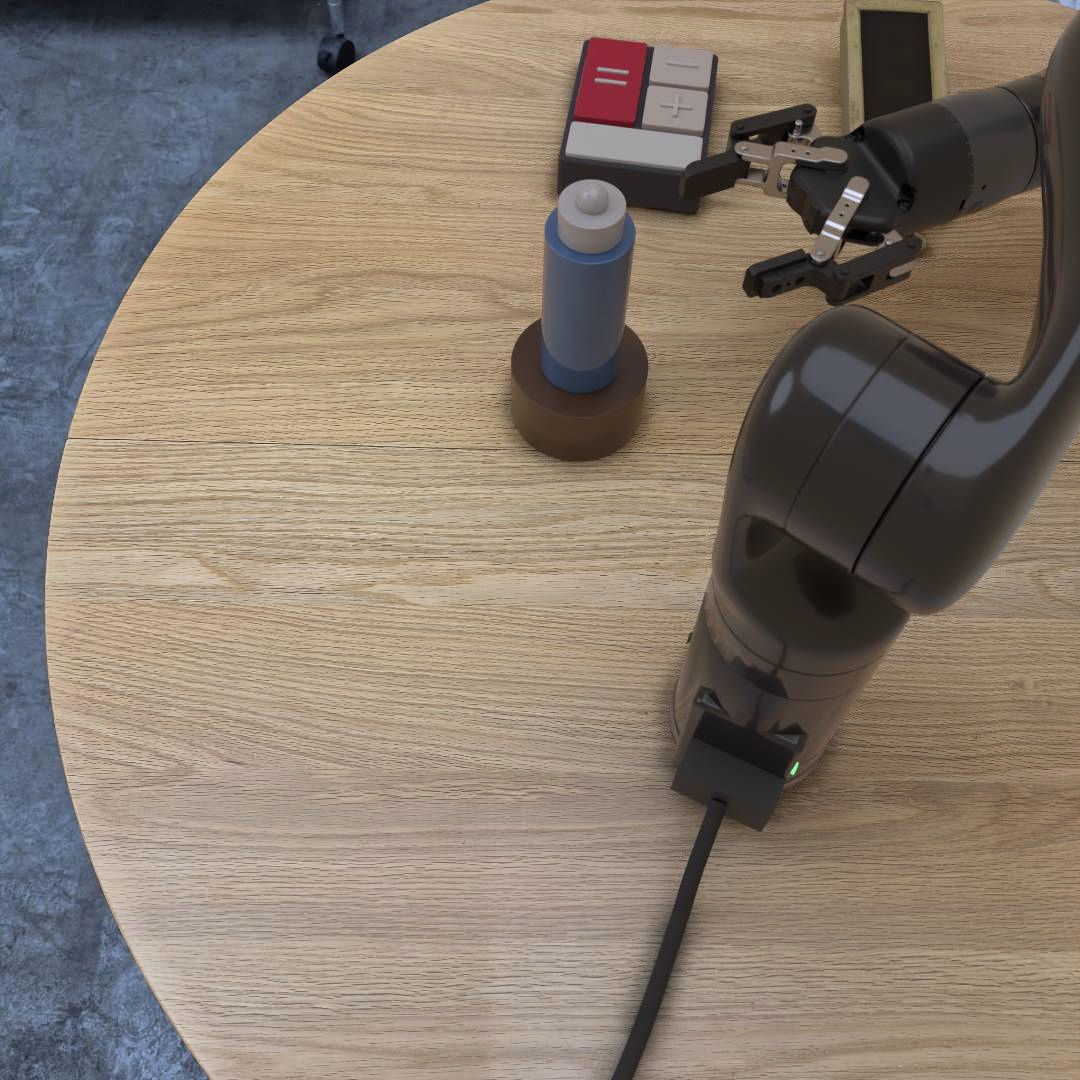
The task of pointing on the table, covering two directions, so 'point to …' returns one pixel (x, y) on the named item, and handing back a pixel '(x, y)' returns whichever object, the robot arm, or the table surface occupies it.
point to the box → (890, 59)
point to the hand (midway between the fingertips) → (713, 233)
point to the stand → (576, 403)
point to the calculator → (638, 120)
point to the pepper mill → (585, 286)
